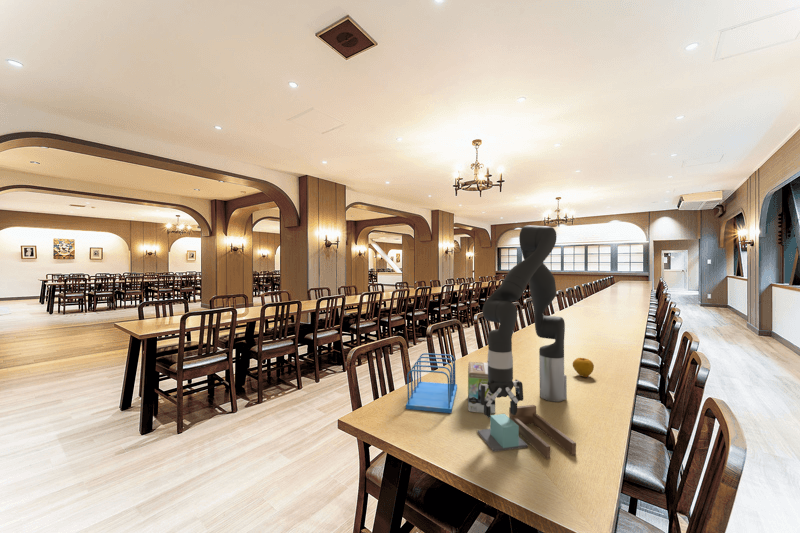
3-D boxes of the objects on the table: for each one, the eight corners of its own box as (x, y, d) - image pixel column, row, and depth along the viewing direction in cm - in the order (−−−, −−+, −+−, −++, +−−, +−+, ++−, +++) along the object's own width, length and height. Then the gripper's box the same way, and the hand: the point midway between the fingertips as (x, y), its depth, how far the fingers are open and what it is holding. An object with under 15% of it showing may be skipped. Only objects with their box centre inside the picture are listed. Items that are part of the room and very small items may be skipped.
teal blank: (504, 432, 104) (504, 413, 104) (518, 445, 96) (518, 425, 96) (490, 434, 103) (490, 415, 103) (503, 448, 95) (503, 427, 95)
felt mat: (508, 428, 108) (508, 426, 108) (527, 447, 97) (527, 444, 97) (477, 432, 106) (477, 430, 106) (493, 451, 95) (493, 448, 95)
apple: (568, 374, 160) (568, 356, 160) (580, 372, 164) (580, 354, 164) (585, 380, 152) (585, 361, 152) (598, 377, 155) (598, 358, 155)
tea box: (496, 414, 119) (496, 374, 119) (468, 412, 121) (467, 372, 121) (493, 397, 133) (492, 361, 133) (468, 396, 135) (467, 360, 135)
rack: (534, 421, 113) (534, 404, 113) (576, 455, 93) (575, 434, 93) (509, 424, 111) (509, 407, 111) (546, 459, 91) (546, 437, 91)
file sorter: (418, 385, 148) (418, 351, 148) (457, 388, 144) (457, 354, 143) (405, 409, 124) (405, 369, 124) (451, 414, 119) (451, 372, 119)
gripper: (484, 369, 97) (484, 423, 97) (527, 366, 99) (528, 418, 99) (473, 362, 104) (474, 412, 104) (514, 358, 107) (515, 407, 107)
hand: (500, 415), depth 102 cm, fingers open, 8 cm apart
